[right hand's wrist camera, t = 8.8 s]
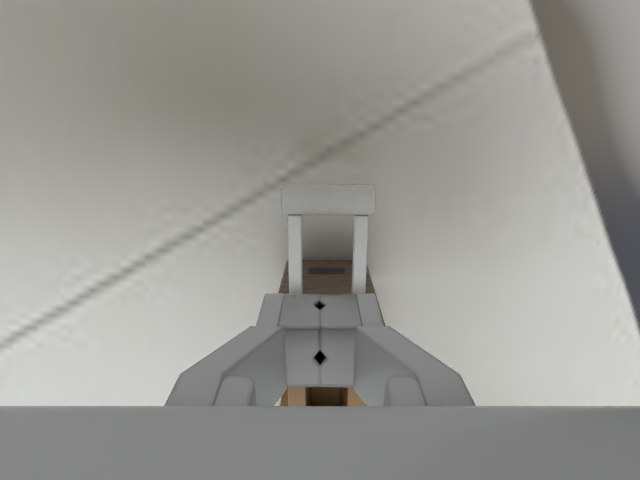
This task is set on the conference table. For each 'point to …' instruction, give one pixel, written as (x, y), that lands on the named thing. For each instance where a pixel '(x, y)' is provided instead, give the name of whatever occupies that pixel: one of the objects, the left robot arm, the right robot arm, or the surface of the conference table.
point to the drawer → (327, 263)
